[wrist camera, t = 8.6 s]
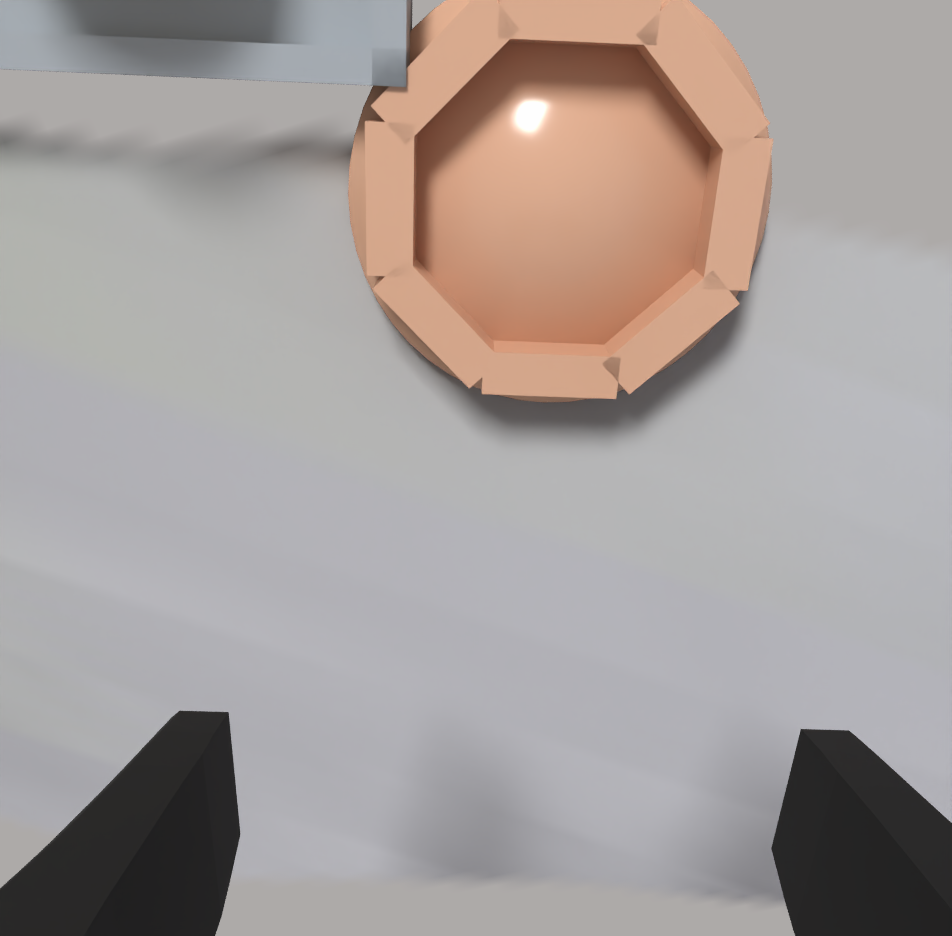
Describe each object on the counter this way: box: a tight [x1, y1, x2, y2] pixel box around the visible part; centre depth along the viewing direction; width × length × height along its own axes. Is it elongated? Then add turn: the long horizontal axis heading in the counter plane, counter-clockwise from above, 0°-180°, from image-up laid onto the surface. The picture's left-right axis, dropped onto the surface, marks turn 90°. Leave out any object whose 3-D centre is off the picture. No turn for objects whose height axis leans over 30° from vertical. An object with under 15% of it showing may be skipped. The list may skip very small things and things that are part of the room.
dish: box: [348, 0, 773, 402], centre depth 17 cm, size 8×8×1 cm
